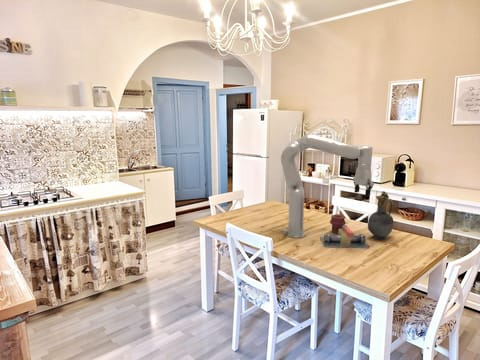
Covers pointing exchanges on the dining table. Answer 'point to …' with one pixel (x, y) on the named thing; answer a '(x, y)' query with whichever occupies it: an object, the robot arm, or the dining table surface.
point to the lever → (347, 231)
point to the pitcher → (381, 218)
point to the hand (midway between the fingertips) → (362, 194)
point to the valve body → (344, 240)
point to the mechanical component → (337, 222)
